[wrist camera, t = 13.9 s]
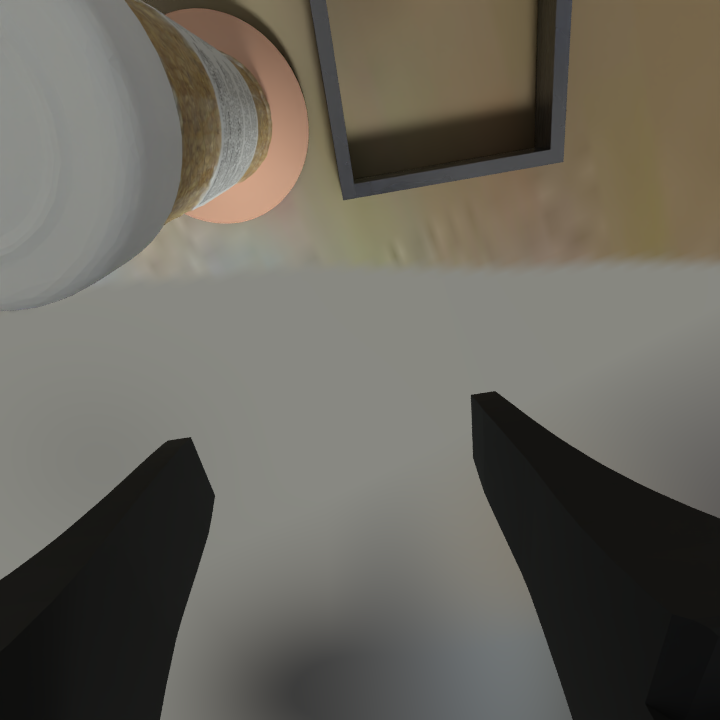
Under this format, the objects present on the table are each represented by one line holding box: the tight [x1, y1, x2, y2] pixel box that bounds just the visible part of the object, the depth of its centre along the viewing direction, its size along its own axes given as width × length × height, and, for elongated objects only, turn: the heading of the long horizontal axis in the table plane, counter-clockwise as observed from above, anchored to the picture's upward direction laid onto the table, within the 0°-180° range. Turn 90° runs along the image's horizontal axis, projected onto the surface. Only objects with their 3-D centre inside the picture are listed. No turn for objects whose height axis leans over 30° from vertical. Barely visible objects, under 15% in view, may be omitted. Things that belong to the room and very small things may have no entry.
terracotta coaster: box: [165, 8, 309, 223], centre depth 17 cm, size 7×7×1 cm
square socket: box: [310, 0, 572, 200], centre depth 16 cm, size 8×8×2 cm
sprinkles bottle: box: [0, 0, 272, 311], centre depth 10 cm, size 5×5×14 cm
